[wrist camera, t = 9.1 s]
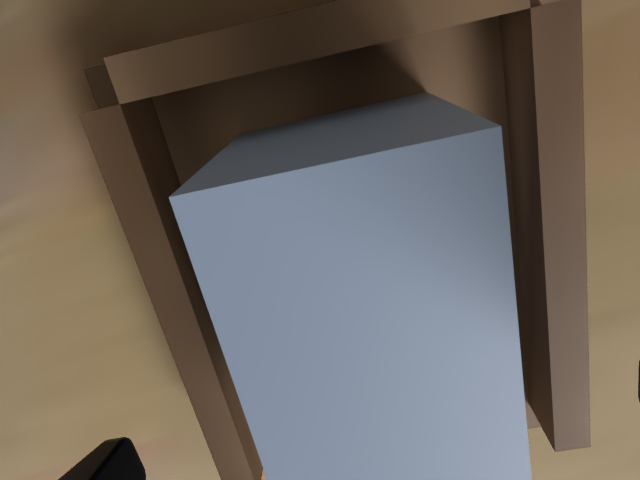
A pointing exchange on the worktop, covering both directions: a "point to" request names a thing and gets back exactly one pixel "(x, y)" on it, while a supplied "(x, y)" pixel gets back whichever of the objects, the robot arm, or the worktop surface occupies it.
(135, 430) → the worktop surface
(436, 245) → the pale blue cuboid
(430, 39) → the walnut rack
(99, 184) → the worktop surface
